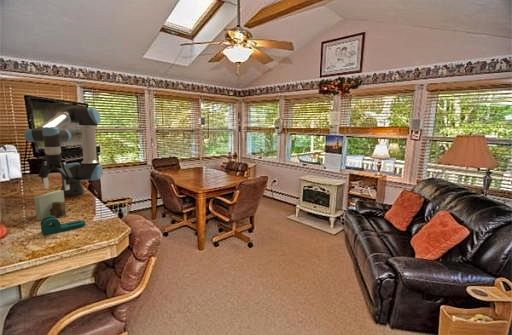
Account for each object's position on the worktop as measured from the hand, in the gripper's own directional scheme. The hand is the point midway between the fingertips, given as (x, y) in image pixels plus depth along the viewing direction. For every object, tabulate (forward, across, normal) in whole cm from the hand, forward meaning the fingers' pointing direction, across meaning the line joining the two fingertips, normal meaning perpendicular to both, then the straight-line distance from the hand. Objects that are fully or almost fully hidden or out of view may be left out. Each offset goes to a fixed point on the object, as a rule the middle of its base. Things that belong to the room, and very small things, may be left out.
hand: (56, 189), depth 156 cm
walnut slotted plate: (+14, 0, -6) cm, 15 cm away
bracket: (+14, +24, -22) cm, 36 cm away
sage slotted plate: (+14, 0, -5) cm, 15 cm away
